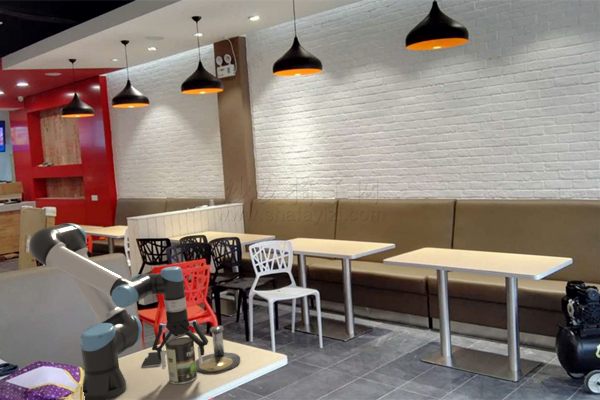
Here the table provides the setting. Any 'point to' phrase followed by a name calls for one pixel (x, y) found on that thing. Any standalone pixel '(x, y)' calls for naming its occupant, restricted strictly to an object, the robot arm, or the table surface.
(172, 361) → the coffee can
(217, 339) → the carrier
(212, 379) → the table surface
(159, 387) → the table surface
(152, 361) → the smartphone
